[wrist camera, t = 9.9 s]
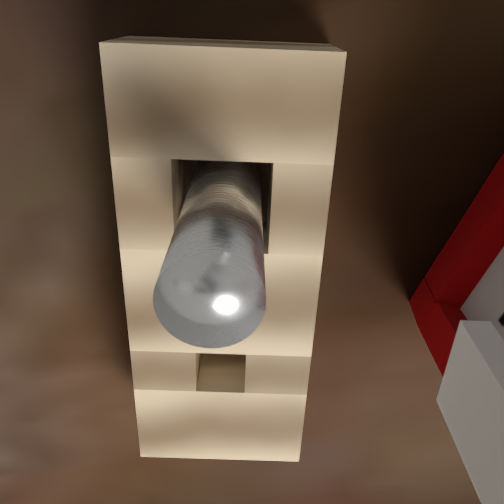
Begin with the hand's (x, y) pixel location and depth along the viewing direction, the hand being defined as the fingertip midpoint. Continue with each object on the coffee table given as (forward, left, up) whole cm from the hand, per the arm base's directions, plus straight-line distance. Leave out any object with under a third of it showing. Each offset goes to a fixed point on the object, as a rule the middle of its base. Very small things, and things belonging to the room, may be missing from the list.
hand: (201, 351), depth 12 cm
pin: (0, 0, -15) cm, 15 cm away
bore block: (+5, 0, -16) cm, 17 cm away
